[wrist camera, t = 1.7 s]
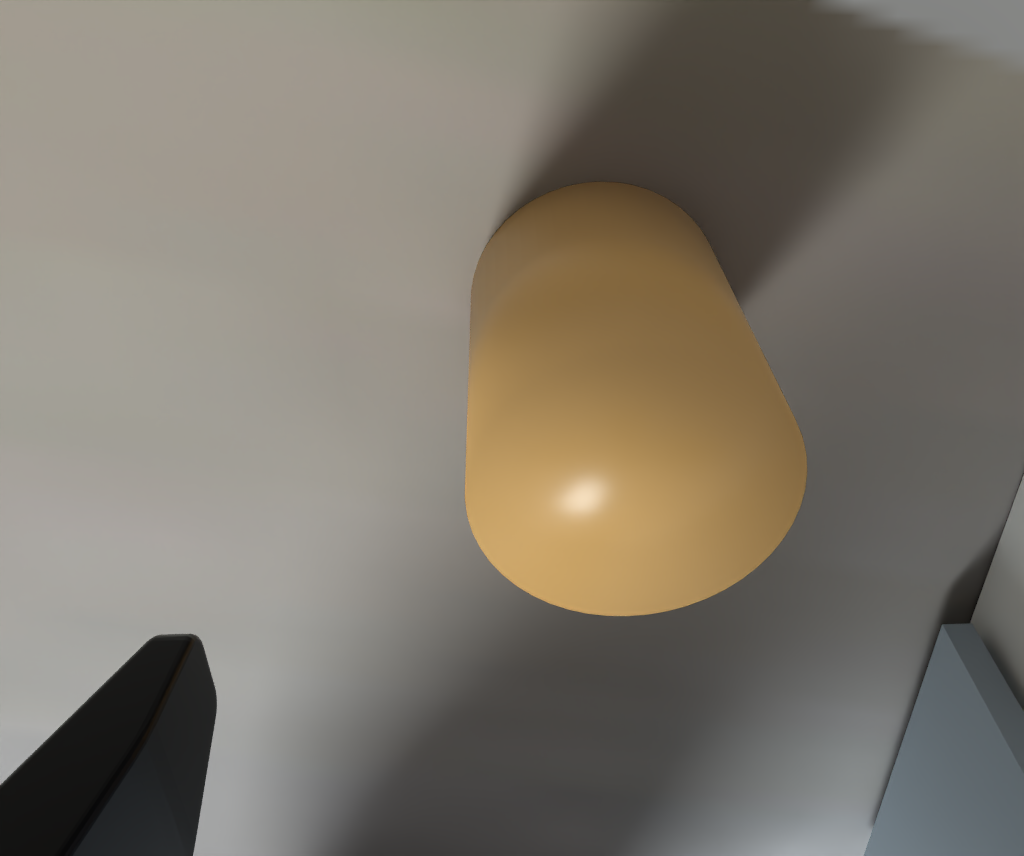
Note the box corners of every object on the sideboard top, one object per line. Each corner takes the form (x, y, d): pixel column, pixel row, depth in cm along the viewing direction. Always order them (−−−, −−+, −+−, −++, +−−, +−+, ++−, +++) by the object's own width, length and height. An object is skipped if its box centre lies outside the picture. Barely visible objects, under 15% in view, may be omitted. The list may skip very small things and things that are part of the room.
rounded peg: (475, 409, 16) (471, 620, 12) (465, 184, 14) (456, 349, 10) (706, 403, 16) (780, 611, 12) (732, 178, 14) (835, 339, 10)
